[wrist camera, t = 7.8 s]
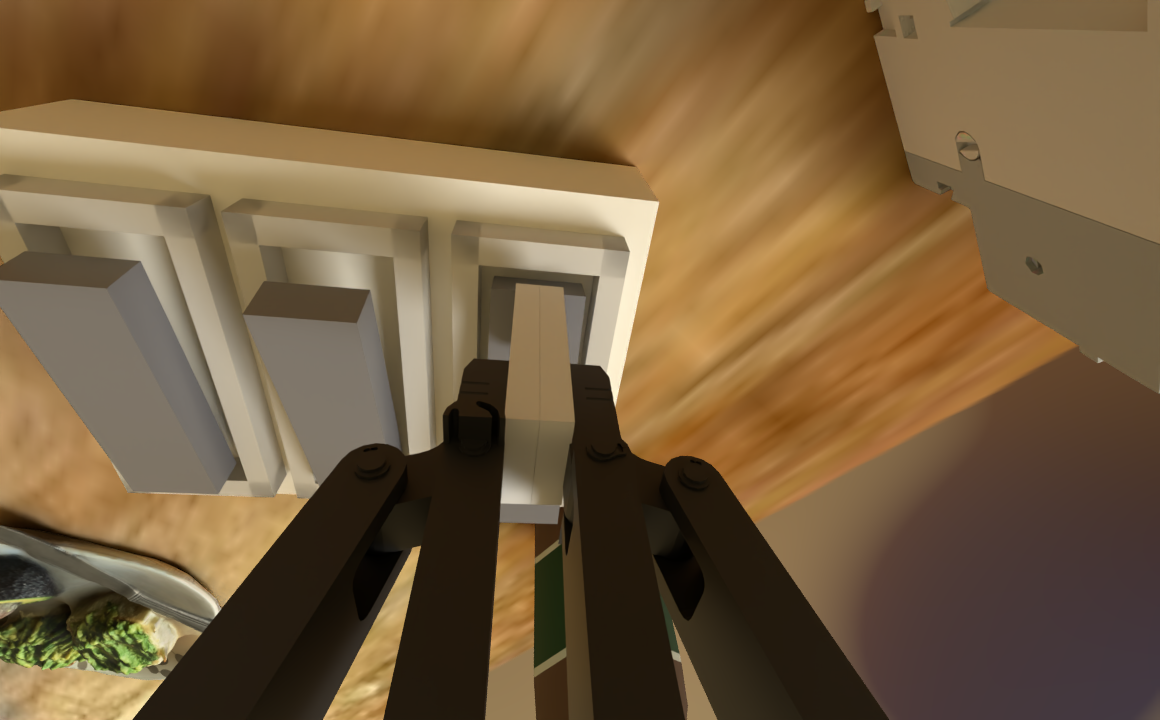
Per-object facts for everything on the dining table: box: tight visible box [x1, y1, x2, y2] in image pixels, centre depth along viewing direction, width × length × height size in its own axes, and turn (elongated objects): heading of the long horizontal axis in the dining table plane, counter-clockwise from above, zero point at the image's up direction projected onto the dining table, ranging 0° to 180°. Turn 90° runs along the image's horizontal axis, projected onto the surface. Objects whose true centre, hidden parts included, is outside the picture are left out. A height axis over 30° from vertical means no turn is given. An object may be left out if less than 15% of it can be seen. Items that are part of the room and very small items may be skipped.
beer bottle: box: [534, 507, 688, 720], centre depth 24 cm, size 8×8×24 cm
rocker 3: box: [488, 276, 586, 524], centre depth 20 cm, size 10×3×2 cm, turn 173°
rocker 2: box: [242, 281, 403, 487], centre depth 19 cm, size 10×3×2 cm, turn 173°
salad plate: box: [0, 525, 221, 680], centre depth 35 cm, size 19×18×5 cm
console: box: [0, 99, 659, 507], centre depth 22 cm, size 16×22×6 cm
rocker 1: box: [0, 251, 236, 494], centre depth 18 cm, size 10×3×2 cm, turn 173°
